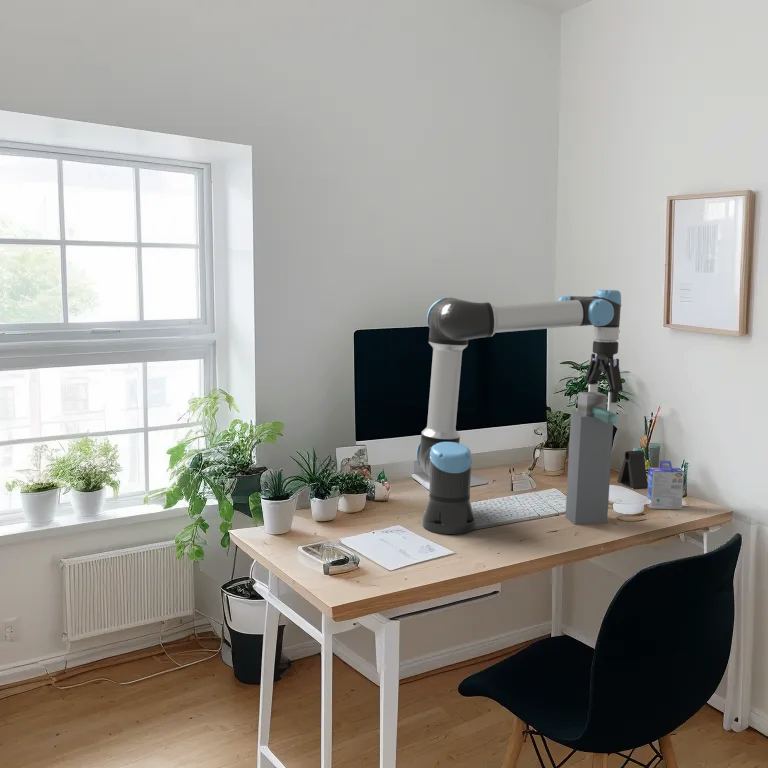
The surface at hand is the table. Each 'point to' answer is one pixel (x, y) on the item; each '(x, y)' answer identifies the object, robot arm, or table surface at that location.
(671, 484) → the ink cartridge box
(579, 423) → the charcoal stand
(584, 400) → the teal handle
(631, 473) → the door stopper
